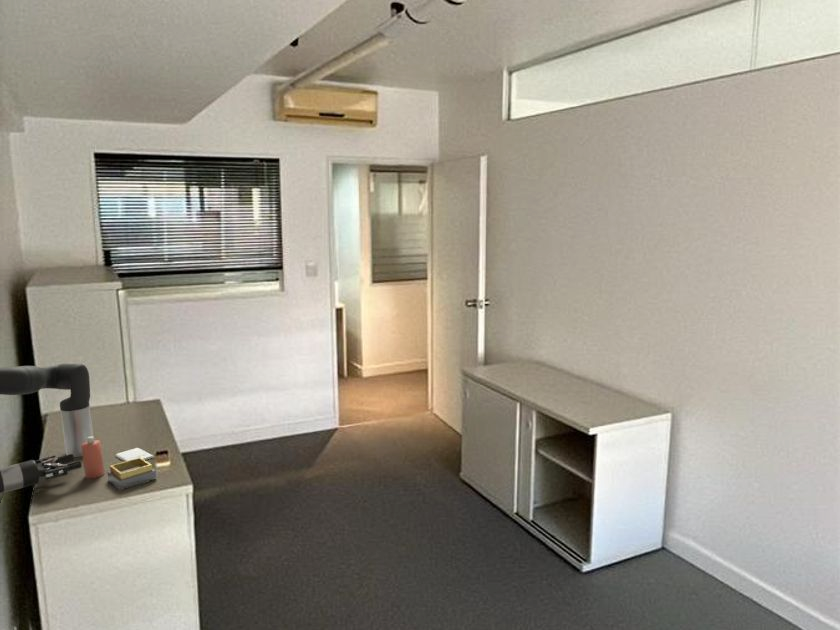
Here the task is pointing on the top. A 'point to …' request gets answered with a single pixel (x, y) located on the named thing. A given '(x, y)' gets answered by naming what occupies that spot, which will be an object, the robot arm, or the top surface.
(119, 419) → the top surface
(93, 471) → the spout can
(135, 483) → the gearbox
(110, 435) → the top surface
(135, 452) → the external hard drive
